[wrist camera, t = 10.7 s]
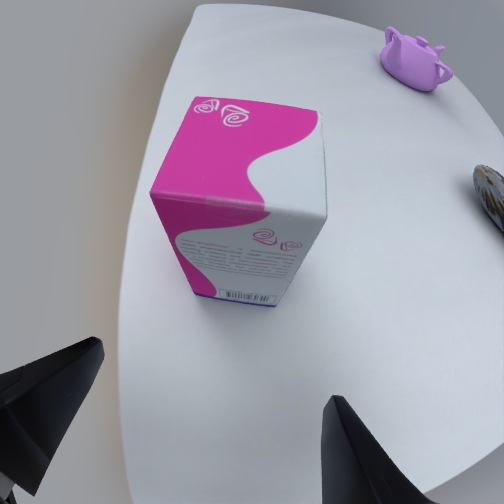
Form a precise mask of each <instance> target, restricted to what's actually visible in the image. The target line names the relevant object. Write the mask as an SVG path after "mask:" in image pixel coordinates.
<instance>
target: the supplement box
mask: <svg viewBox="0 0 504 504" xmlns="http://www.w3.org/2000/svg"><path fill="white" fill-rule="evenodd" d="M150 197H151V199H152V201H153V204H154V206H155V209H156V211H157V213H158V215H159V218H160V220H161V222H162V225H163V227H164V229H165V231H166V233H167V235H168V238H169V240H170V242H171V245H172V247H173V249H174V252H175V254H176V256H177V258H178V260H179V263H180V265H181V267H182V269H183V271H184V273H185V275H186V277H187V279H188V281H189V284H190V286H191V288H192V290H193V292H194V294H196V295H199V296H204V297H209V298H215V299H221V300H227V301H233V302H239V303H246V304H253V305H261V306H269V307H276V305H277V304H278V302H279V301H280V299H281V297H282V296H283V294H284V292H285V291H286V289H287V287H288V286H289V284H290V282H291V281H292V279H293V277H294V275H295V274H296V272H297V270H298V269H299V267H300V265H301V263H302V262H303V260H304V258H305V257H306V255H307V253H308V252H309V250H310V248H311V246H312V245H313V243H314V241H315V239H316V238H317V236H318V234H319V232H320V231H321V229H322V227H323V225H324V223H325V222H326V220H327V186H326V168H325V152H324V140H323V124H322V113H321V112H319V111H313V110H308V109H302V108H297V107H291V106H285V105H278V104H272V103H265V102H257V101H249V100H238V99H227V98H214V97H195V98H194V100H193V101H192V103H191V105H190V107H189V109H188V111H187V113H186V115H185V117H184V120H183V122H182V124H181V126H180V128H179V130H178V132H177V134H176V136H175V138H174V140H173V142H172V144H171V146H170V148H169V150H168V153H167V155H166V157H165V159H164V161H163V163H162V166H161V168H160V170H159V172H158V174H157V176H156V179H155V181H154V183H153V186H152V188H151V190H150Z"/></svg>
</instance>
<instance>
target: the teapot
mask: <svg viewBox="0 0 504 504" xmlns="http://www.w3.org/2000/svg"><path fill="white" fill-rule="evenodd" d="M393 33H394V34H395V35H396V36H397V37H398V38H397V37H396V36H394V35H393ZM392 36H393V41H392ZM385 38H386V46H385V47H384V49H383V50H382V52H381V54H380V59H381V61H382V64H383V66H384V68H385V69H386V70H387V71H388V72H389V73H390V74H391V75H392V76H394V77H395V78H396V79H398V80H399V81H401V82H402V83H404V84H406V85H408V86H410V87H412V88H414V89H417V90H420V91H430V90H434V89H435V88H436V87H437V85H438V84H441V83H444V82H446V81H448V80H450V79H451V78H452V76H453V71H452V70H451V69H450V68H448V67H447V66H446V65H444V64H442V63H440V62H439V59H438V58H439V55H440V53H441V51H442V50H443V49H444V48H445V47H444V46H441V45H439V46H437V47H436V48H435V49H433V50H432V49H431V48H429V47H428V46H427V45H428V44H429V43H428V41H426V40H425V39H423V38H421V37H419V36H417V40H416V39H414V38H412V37H409V36H405V35H404V36H402V35H401V34H400V33H399V32H398V31H396V30H395V29H394V28H392V27H387V29H386V32H385ZM440 67H441V68H443V69H444V71H445V72H444V74H443V75H442V76H441V77H440Z"/></svg>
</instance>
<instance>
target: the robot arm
mask: <svg viewBox="0 0 504 504" xmlns="http://www.w3.org/2000/svg"><path fill="white" fill-rule="evenodd" d="M103 360H104V349H103V344H102V341H101V340H100V339H99V338H96V337H89V338H87V339H85V340H82V341H80V342H78V343H75V344H73V345H71V346H68V347H66V348H64V349H62V350H59V351H57V352H54V353H52V354H50V355H48V356H46V357H43V358H40V359H38V360H36V361H33V362H32V363H28V364H26V365H25V366H21V367H19V368H16V369H14V370H11V371H9V372H6V373H3V374H0V504H17V503H16V500H15V497H14V494H13V491H12V488H13V486H14V484H15V483H16V484H17V485H18V486H20V487H21V488H22V489H24V490H25V491H26V492H28V493H29V494H31V495H32V496H35V494H36V492H37V490H38V488H39V485H40V483H41V481H42V479H43V477H44V475H45V473H46V470H47V468H48V466H49V464H50V462H51V460H52V458H53V456H54V454H55V452H56V450H57V448H58V446H59V444H60V442H61V440H62V438H63V437H64V435H65V433H66V431H67V429H68V427H69V425H70V424H71V422H72V420H73V418H74V416H75V415H76V413H77V411H78V409H79V408H80V406H81V404H82V402H83V400H84V399H85V397H86V395H87V393H88V392H89V390H90V388H91V386H92V384H93V382H94V380H95V377H96V375H97V373H98V370H99V369H100V366H101V364H102V362H103ZM321 465H322V504H439V503H435V502H433V501H431V500H429V499H428V498H427V497H425V496H424V495H423V494H422V493H421V492H420V491H419V490H418V489H417V488H416V487H415V486H414V485H413V484H412V483H411V482H410V481H409V480H408V479H407V478H406V477H405V475H404V474H403V473H402V472H401V471H400V470H399V469H398V467H397V466H396V465H395V464H394V462H393V461H392V460H391V459H390V458H389V456H388V455H387V453H386V452H385V451H384V450H383V448H382V447H381V446H380V444H379V443H378V442H377V440H376V439H375V438H374V436H373V435H372V434H371V433H370V431H369V430H368V429H367V427H366V426H365V425H364V423H363V422H362V421H361V419H360V418H359V417H358V415H357V414H356V413H355V411H354V410H353V409H352V407H351V406H350V405H349V403H348V402H347V401H346V399H345V398H344V397H343V396H339V395H333V396H331V398H330V399H329V401H328V403H327V404H326V406H325V407H324V410H323V421H322V436H321Z"/></svg>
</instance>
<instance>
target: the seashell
mask: <svg viewBox="0 0 504 504" xmlns="http://www.w3.org/2000/svg"><path fill="white" fill-rule="evenodd" d="M473 181H474V185H475V188H476V191H477V194H478V196H479V199H480V201H481V203H482V205H483V207H484V208H485V210H486V211H487V213H488V214H489V215H490V216H491V218H492V219H493V220H494V221H495V223H496V224H497V225H498V226H499V228H500V229H501V230H502V231H503V232H504V177H503V176H502V175H501V174H499V173H498V172H497V171H495V170H493V169H492V168H490V167H488V166H484V165H477V166H476V167H475V169H474V173H473Z"/></svg>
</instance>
